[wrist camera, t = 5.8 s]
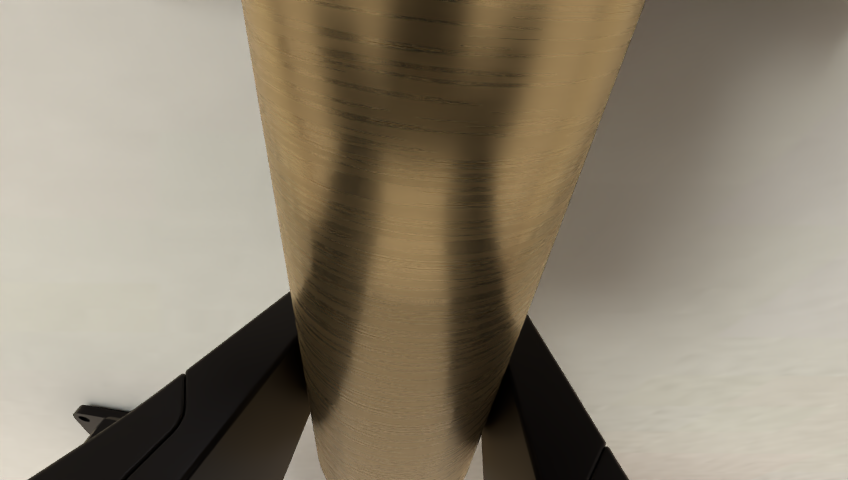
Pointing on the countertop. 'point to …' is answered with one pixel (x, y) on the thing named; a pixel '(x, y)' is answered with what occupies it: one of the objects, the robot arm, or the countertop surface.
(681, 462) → the countertop surface
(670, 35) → the countertop surface
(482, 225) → the tube
